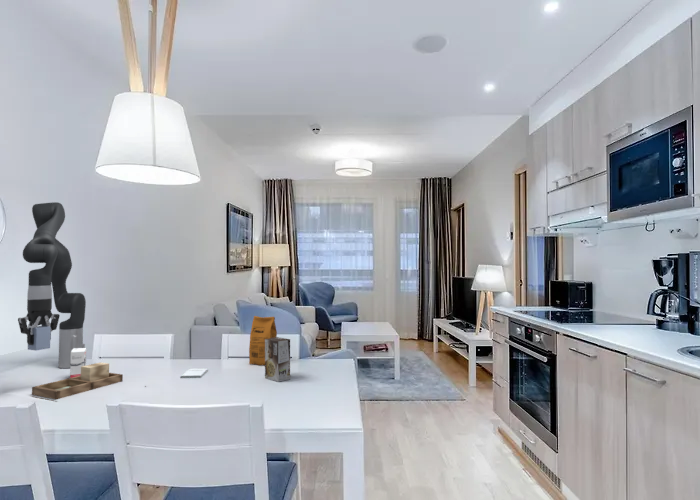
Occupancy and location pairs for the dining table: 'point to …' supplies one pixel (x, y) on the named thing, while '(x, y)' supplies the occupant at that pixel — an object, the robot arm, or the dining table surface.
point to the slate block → (41, 338)
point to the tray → (73, 386)
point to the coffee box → (277, 359)
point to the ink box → (77, 361)
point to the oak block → (95, 371)
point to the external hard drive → (194, 373)
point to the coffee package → (260, 338)
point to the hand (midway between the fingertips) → (39, 343)
